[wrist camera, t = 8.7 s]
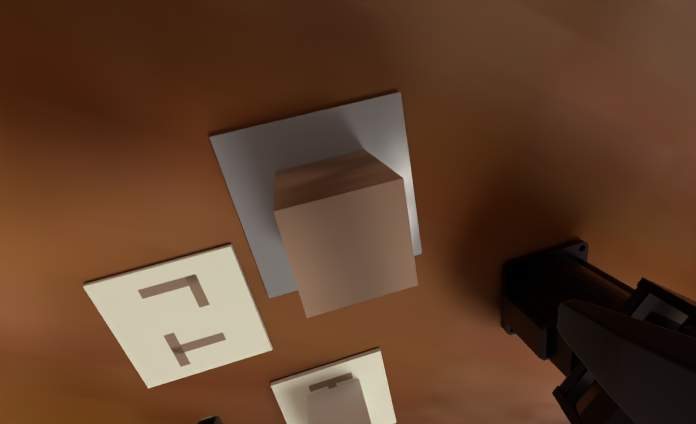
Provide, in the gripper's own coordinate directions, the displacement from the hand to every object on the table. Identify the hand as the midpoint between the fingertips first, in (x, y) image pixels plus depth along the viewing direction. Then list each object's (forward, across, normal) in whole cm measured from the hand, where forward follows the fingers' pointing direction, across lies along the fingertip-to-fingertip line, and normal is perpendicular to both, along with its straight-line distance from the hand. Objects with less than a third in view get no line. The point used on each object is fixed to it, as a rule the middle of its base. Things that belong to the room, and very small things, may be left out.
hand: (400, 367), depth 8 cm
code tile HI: (+12, +3, +16) cm, 20 cm away
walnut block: (+12, 0, 0) cm, 12 cm away
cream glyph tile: (+12, +10, +5) cm, 16 cm away
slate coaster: (+12, 0, 0) cm, 12 cm away
